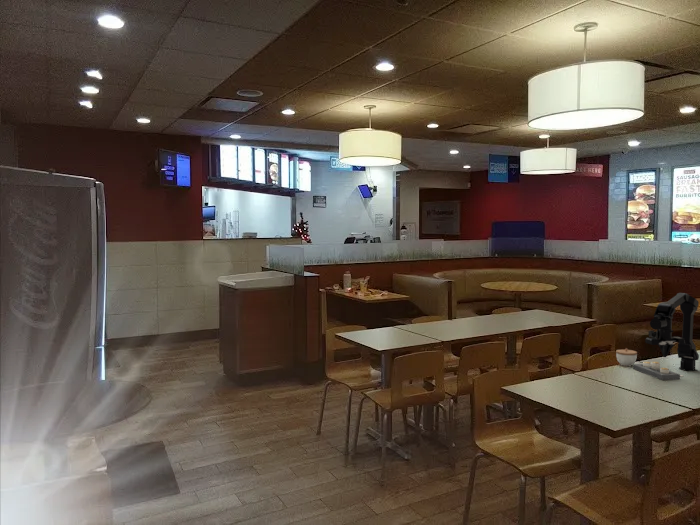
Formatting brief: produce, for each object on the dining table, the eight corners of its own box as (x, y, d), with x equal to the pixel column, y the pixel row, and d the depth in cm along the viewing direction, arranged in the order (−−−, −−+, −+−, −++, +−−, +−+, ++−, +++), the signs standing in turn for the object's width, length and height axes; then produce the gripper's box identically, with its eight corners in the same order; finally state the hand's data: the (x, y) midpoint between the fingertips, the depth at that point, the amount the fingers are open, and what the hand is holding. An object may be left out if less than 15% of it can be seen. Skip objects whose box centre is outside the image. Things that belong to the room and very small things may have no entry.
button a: (648, 368, 307) (648, 361, 307) (652, 370, 303) (652, 363, 303) (641, 369, 307) (641, 361, 307) (646, 370, 303) (646, 363, 303)
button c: (665, 375, 293) (665, 367, 293) (670, 377, 289) (670, 369, 289) (658, 375, 293) (658, 367, 293) (663, 377, 289) (663, 369, 289)
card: (664, 369, 307) (664, 368, 307) (683, 376, 292) (683, 375, 292) (655, 369, 306) (655, 369, 306) (674, 376, 291) (674, 376, 291)
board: (649, 367, 311) (649, 363, 310) (679, 379, 287) (680, 374, 287) (632, 368, 309) (632, 364, 309) (662, 380, 286) (662, 375, 285)
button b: (656, 369, 300) (656, 361, 300) (661, 370, 296) (661, 363, 296) (649, 369, 300) (649, 361, 299) (654, 371, 296) (654, 363, 296)
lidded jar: (611, 363, 321) (611, 347, 321) (624, 361, 326) (624, 346, 325) (627, 367, 311) (628, 351, 311) (641, 365, 316) (641, 349, 315)
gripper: (671, 324, 299) (670, 353, 300) (638, 325, 296) (638, 354, 297) (686, 328, 288) (685, 357, 289) (652, 329, 285) (652, 359, 286)
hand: (664, 357), depth 290 cm, fingers closed
